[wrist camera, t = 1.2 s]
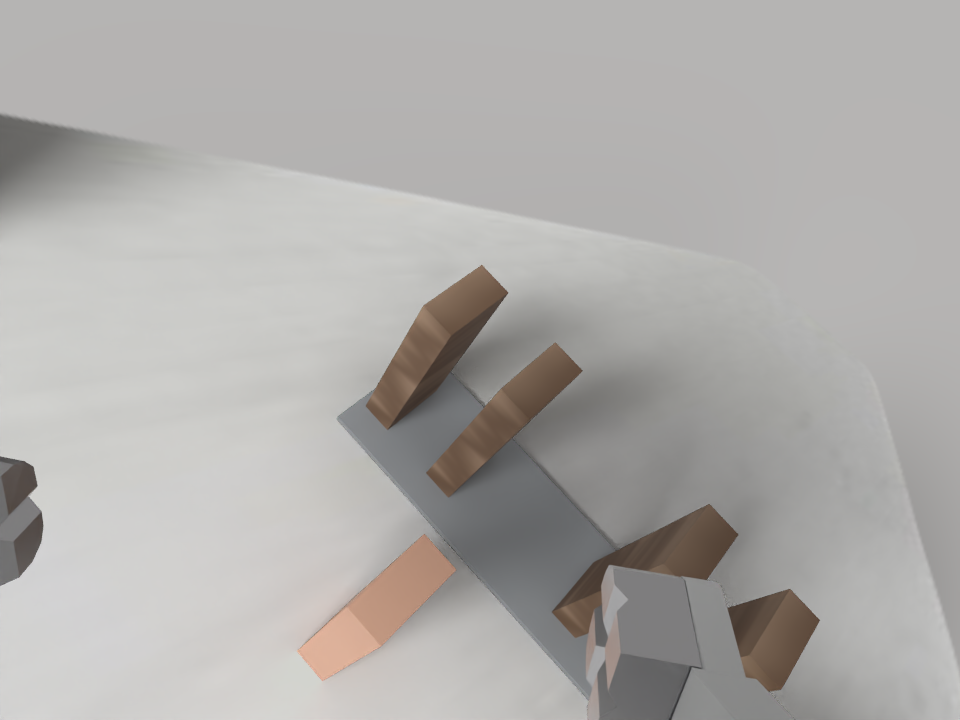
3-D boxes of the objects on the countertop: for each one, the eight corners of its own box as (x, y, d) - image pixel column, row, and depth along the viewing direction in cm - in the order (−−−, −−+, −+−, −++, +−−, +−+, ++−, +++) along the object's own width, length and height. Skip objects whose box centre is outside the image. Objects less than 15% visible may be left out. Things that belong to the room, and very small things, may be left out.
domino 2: (425, 473, 47) (501, 388, 37) (473, 431, 49) (555, 342, 39) (448, 497, 46) (529, 419, 37) (494, 454, 49) (582, 371, 39)
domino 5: (616, 684, 45) (749, 655, 35) (655, 630, 47) (789, 588, 37) (641, 711, 45) (781, 689, 35) (679, 655, 47) (819, 620, 37)
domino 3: (297, 651, 40) (346, 606, 30) (359, 592, 42) (424, 533, 32) (322, 681, 40) (380, 646, 30) (383, 620, 42) (456, 569, 32)
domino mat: (336, 419, 46) (338, 416, 46) (427, 351, 51) (429, 348, 51) (626, 743, 44) (630, 742, 43) (695, 641, 48) (699, 640, 48)
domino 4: (551, 612, 45) (663, 563, 36) (593, 562, 48) (709, 504, 38) (575, 638, 45) (694, 596, 35) (616, 586, 48) (738, 534, 38)
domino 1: (365, 406, 47) (423, 305, 37) (415, 368, 50) (481, 264, 40) (387, 430, 47) (451, 335, 37) (436, 391, 49) (508, 292, 40)
